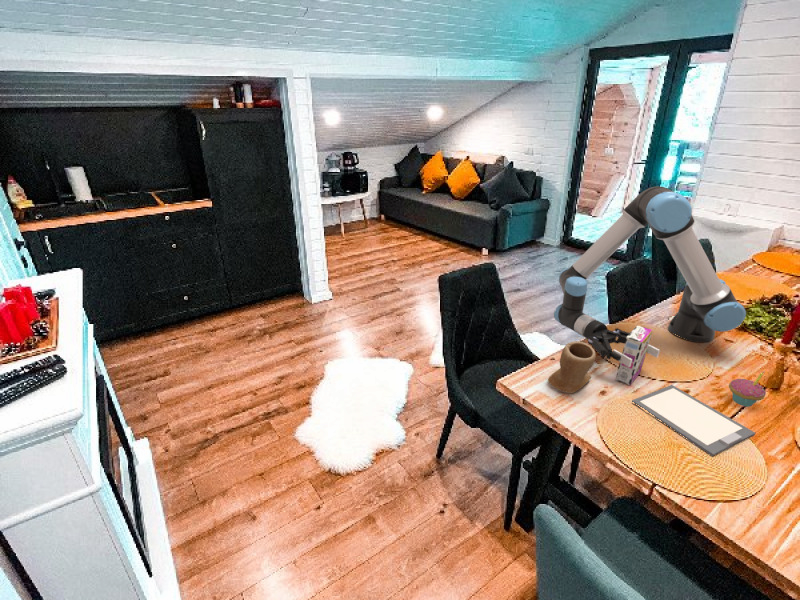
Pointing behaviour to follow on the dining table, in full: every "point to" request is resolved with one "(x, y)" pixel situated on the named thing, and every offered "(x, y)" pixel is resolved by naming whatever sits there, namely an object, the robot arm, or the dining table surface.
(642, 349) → the candy bar box
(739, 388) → the cupcake
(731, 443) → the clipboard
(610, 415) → the dining table surface
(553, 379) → the stone cup
